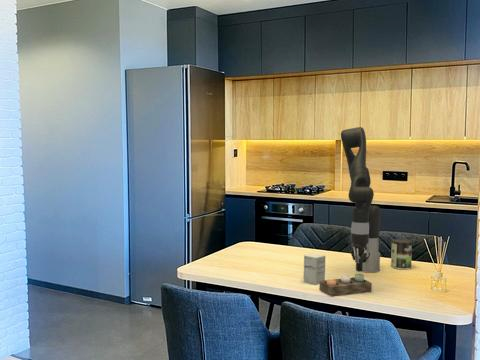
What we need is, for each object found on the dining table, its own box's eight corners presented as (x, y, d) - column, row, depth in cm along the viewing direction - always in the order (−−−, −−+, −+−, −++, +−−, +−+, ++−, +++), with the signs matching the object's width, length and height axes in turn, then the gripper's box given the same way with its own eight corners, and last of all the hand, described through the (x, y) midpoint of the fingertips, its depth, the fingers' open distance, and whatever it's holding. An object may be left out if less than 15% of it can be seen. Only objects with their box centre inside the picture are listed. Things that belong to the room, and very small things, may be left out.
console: (358, 285, 217) (358, 276, 216) (371, 291, 207) (371, 282, 207) (319, 289, 210) (319, 280, 210) (331, 296, 201) (331, 287, 200)
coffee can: (415, 267, 249) (416, 240, 248) (404, 270, 243) (405, 243, 242) (397, 263, 257) (398, 237, 256) (386, 266, 251) (387, 240, 250)
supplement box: (302, 281, 223) (303, 254, 222) (312, 278, 228) (313, 252, 227) (315, 285, 217) (316, 257, 216) (325, 281, 223) (325, 255, 222)
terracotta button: (332, 286, 209) (333, 279, 208) (337, 289, 205) (337, 281, 205) (324, 287, 207) (325, 280, 207) (329, 289, 204) (329, 282, 203)
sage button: (360, 280, 213) (360, 273, 213) (365, 282, 210) (365, 275, 209) (352, 281, 212) (352, 274, 212) (357, 283, 208) (358, 276, 208)
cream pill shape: (346, 281, 211) (347, 274, 211) (351, 284, 207) (352, 277, 207) (338, 282, 210) (339, 275, 209) (343, 285, 206) (344, 277, 206)
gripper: (376, 234, 204) (375, 274, 205) (358, 229, 217) (357, 266, 218) (361, 235, 202) (360, 275, 203) (344, 230, 214) (343, 268, 215)
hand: (359, 271), depth 210 cm, fingers closed
